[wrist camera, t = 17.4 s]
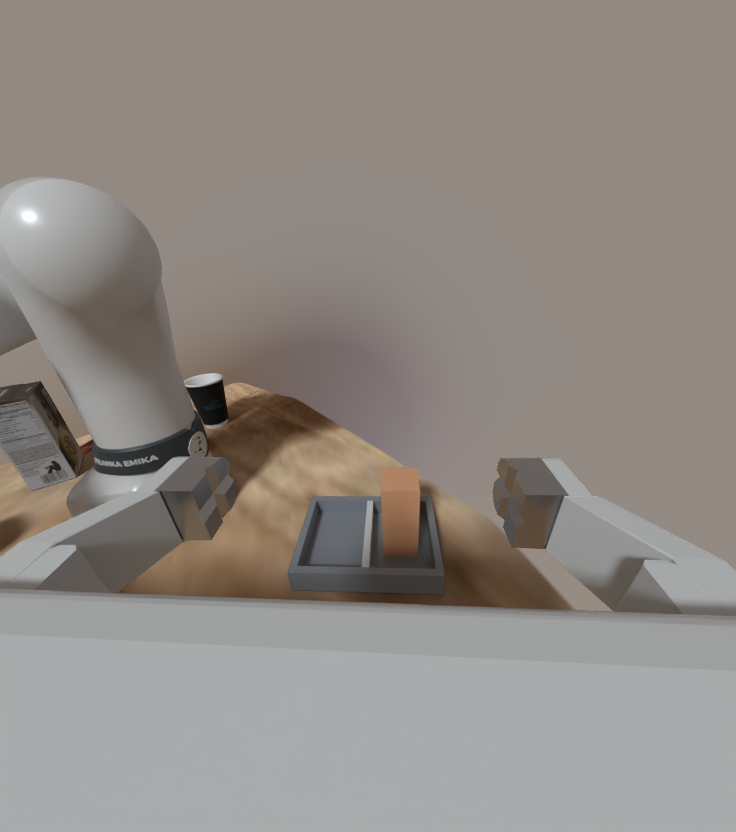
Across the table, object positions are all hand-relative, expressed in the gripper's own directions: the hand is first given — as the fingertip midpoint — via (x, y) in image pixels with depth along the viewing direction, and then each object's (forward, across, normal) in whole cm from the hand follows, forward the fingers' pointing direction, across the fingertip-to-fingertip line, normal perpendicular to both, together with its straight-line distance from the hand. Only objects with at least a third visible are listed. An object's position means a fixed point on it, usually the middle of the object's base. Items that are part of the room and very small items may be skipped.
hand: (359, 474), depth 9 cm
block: (+18, +2, -25) cm, 31 cm away
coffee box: (+34, -60, -27) cm, 74 cm away
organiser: (+18, -2, -26) cm, 32 cm away
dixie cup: (+52, -39, -27) cm, 70 cm away
